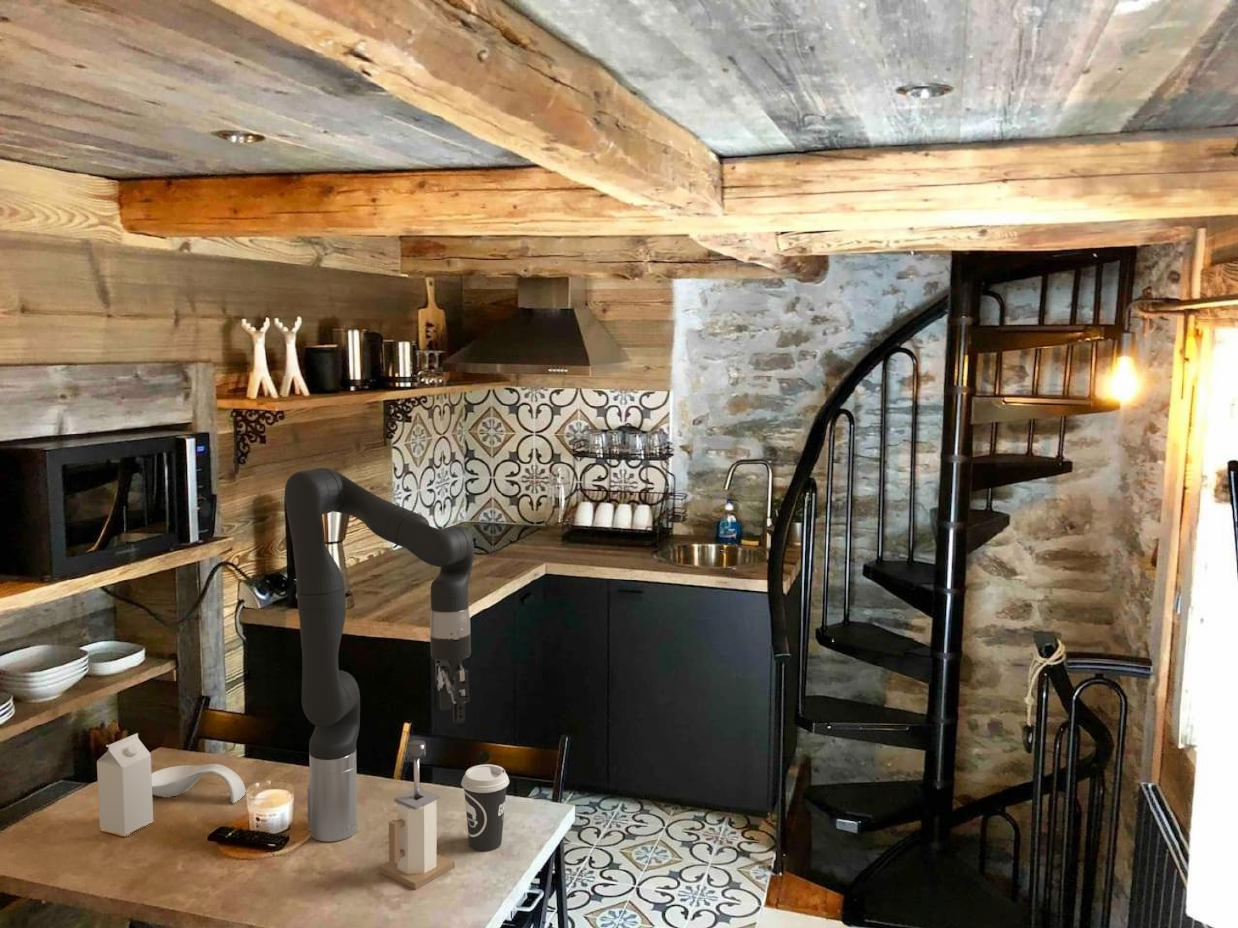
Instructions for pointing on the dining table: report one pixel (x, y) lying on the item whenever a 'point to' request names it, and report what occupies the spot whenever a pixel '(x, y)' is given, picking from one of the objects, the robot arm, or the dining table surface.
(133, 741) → the milk carton
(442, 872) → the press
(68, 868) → the dining table surface
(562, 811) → the dining table surface
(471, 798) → the coffee cup
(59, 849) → the dining table surface
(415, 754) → the plunger
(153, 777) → the spoon rest
